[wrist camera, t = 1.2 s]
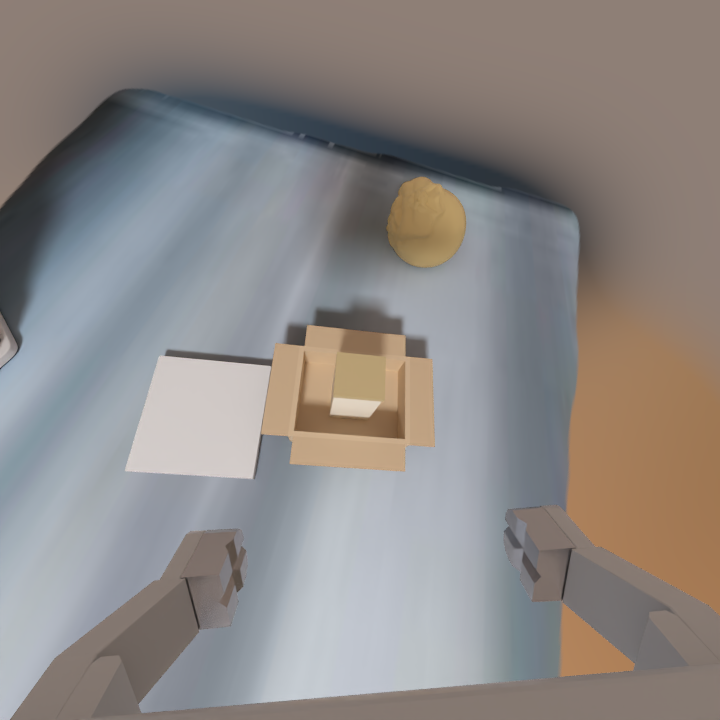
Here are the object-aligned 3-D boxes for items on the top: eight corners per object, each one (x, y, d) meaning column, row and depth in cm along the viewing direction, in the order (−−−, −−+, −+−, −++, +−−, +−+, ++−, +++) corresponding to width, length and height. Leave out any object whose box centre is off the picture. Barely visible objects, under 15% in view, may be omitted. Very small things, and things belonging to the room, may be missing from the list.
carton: (423, 474, 43) (435, 473, 38) (262, 464, 40) (256, 461, 36) (421, 351, 49) (431, 338, 45) (282, 336, 47) (279, 321, 43)
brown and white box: (368, 421, 44) (384, 399, 34) (328, 417, 43) (333, 395, 33) (369, 386, 45) (386, 356, 35) (331, 383, 45) (337, 351, 35)
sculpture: (383, 216, 58) (398, 158, 48) (450, 227, 59) (478, 173, 49) (379, 271, 53) (394, 220, 43) (451, 281, 54) (482, 234, 44)
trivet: (254, 479, 40) (252, 478, 39) (130, 471, 38) (124, 470, 37) (272, 369, 45) (271, 366, 44) (163, 359, 44) (159, 355, 42)
